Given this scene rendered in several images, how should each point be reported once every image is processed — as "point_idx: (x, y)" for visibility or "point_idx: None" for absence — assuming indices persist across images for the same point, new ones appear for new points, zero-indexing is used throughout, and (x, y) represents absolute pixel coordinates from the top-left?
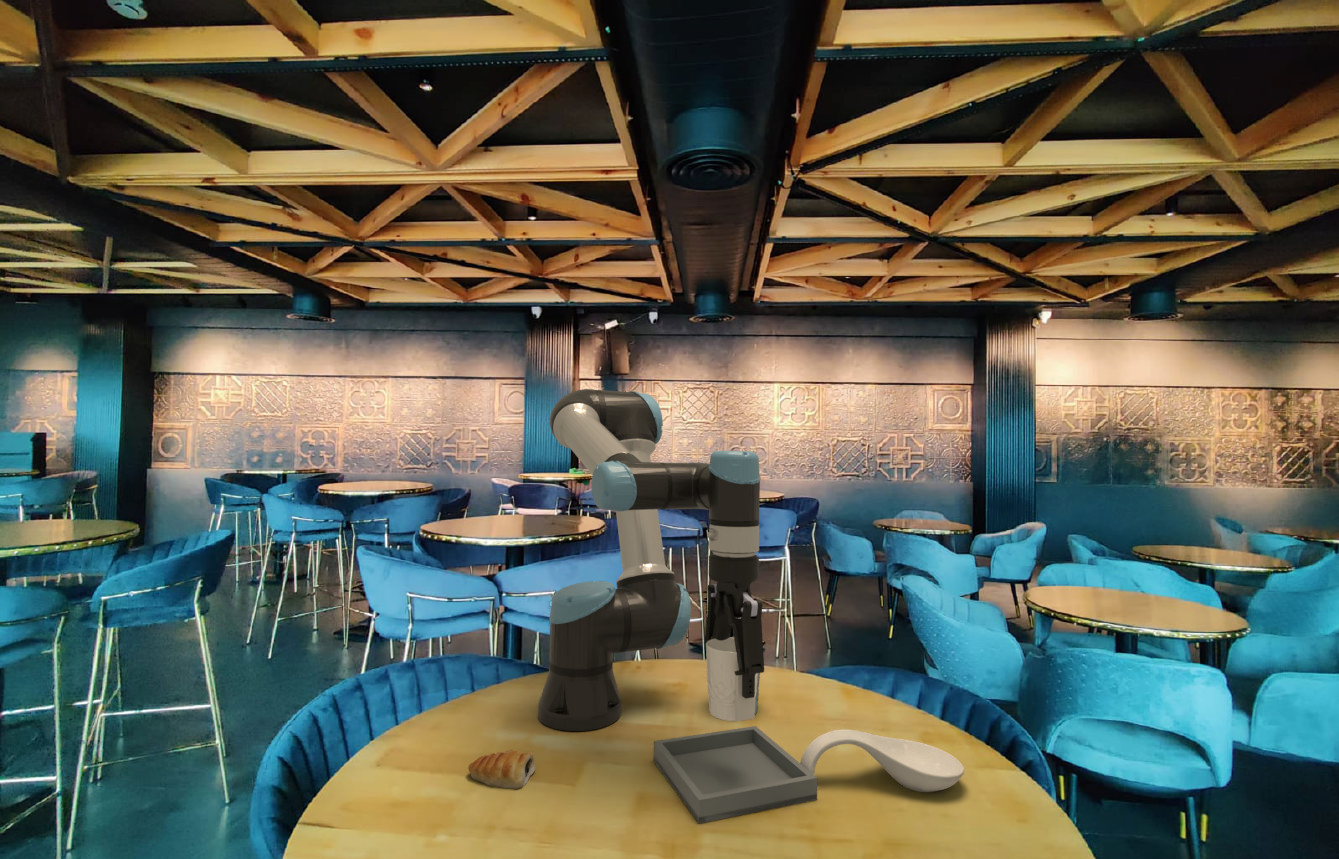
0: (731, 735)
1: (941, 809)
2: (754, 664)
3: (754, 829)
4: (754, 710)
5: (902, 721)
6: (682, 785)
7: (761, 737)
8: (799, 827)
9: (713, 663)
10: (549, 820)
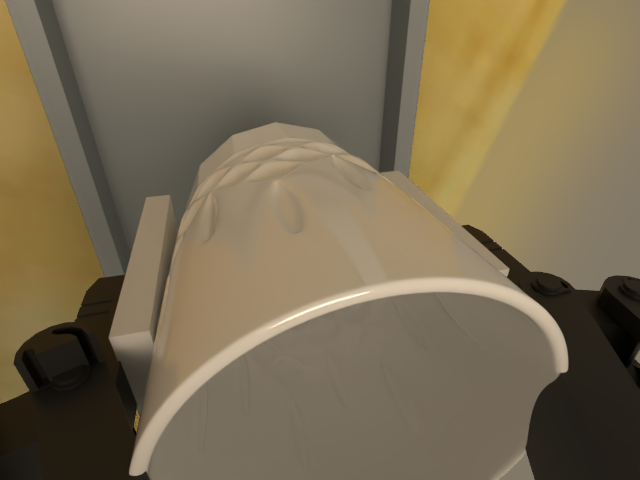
0: (62, 76)
1: None
2: (634, 347)
3: (433, 158)
4: (412, 183)
5: None
6: None
7: None
8: (469, 67)
9: (376, 449)
10: None
